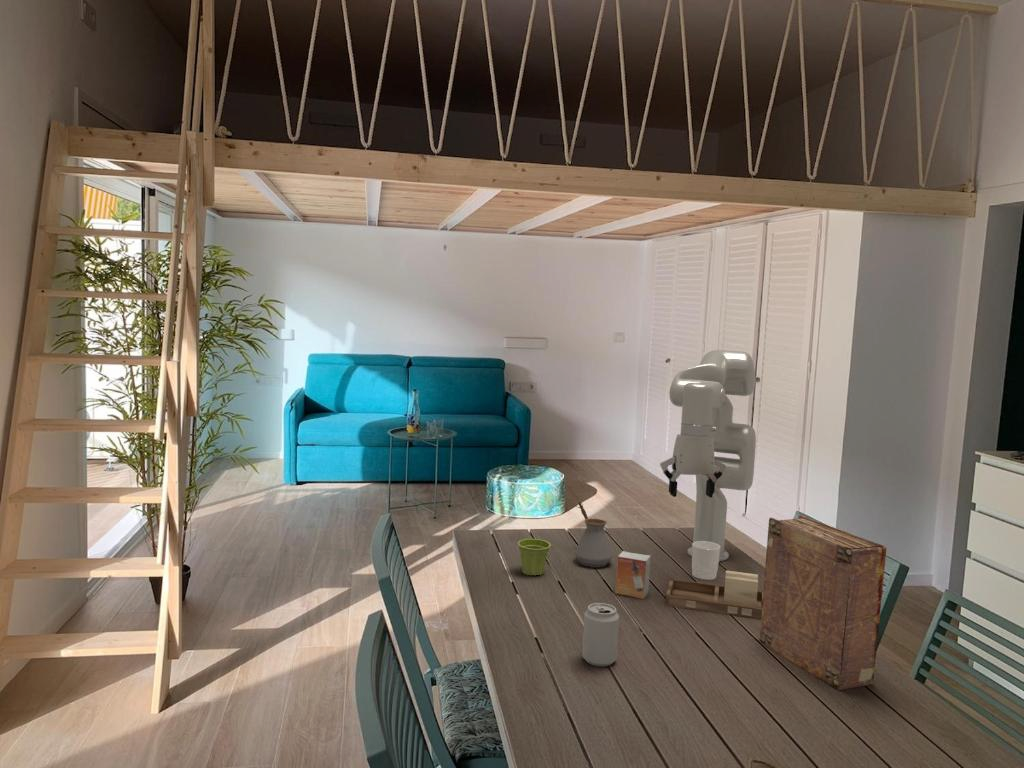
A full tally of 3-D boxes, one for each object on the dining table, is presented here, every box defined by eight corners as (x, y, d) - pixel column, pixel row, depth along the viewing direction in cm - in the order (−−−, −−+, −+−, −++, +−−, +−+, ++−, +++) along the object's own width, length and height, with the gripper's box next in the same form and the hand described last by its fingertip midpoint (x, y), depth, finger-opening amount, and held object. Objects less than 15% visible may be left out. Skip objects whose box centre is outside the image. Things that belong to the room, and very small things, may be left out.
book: (758, 641, 188) (768, 516, 185) (790, 636, 192) (799, 514, 189) (839, 691, 165) (852, 549, 162) (873, 685, 168) (886, 546, 165)
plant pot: (555, 572, 231) (556, 543, 230) (538, 581, 223) (540, 550, 222) (527, 565, 236) (528, 536, 235) (510, 573, 228) (511, 544, 227)
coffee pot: (618, 568, 236) (621, 519, 235) (581, 570, 233) (583, 520, 232) (593, 546, 257) (595, 500, 255) (559, 548, 254) (561, 501, 252)
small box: (614, 594, 215) (616, 556, 214) (620, 587, 220) (622, 550, 219) (644, 599, 212) (646, 560, 211) (648, 592, 217) (651, 555, 216)
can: (594, 670, 170) (597, 616, 168) (575, 656, 176) (578, 603, 175) (623, 664, 173) (626, 611, 172) (603, 650, 180) (606, 599, 178)
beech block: (723, 599, 212) (726, 570, 211) (755, 604, 209) (757, 574, 209) (723, 607, 206) (725, 577, 205) (755, 612, 204) (758, 582, 203)
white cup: (715, 575, 234) (718, 542, 233) (720, 584, 226) (722, 550, 225) (688, 573, 235) (690, 540, 234) (691, 582, 227) (694, 548, 226)
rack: (669, 590, 219) (670, 578, 219) (764, 604, 213) (765, 591, 212) (664, 609, 206) (665, 596, 206) (766, 623, 199) (767, 610, 199)
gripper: (722, 429, 211) (717, 493, 212) (658, 427, 209) (654, 492, 210) (733, 434, 204) (728, 500, 205) (667, 432, 201) (663, 498, 203)
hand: (691, 496), depth 208 cm, fingers open, 9 cm apart
